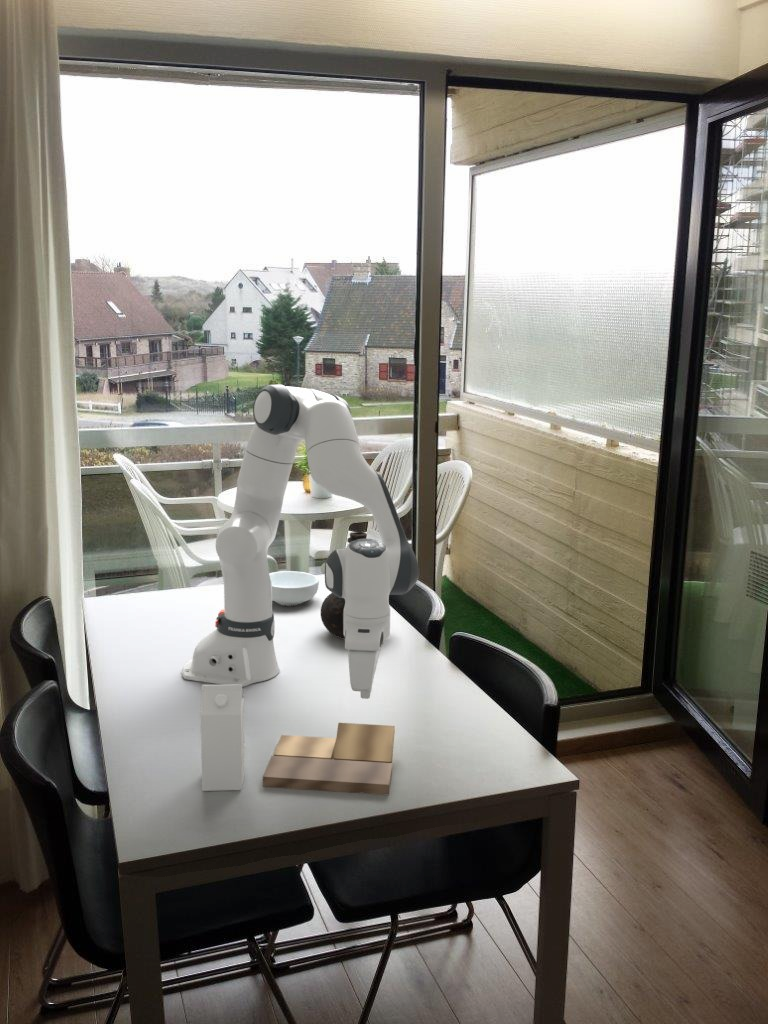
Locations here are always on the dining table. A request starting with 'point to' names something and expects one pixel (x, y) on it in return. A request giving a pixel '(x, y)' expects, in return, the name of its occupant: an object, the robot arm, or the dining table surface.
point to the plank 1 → (306, 747)
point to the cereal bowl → (293, 587)
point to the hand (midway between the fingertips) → (366, 694)
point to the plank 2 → (364, 742)
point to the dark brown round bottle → (337, 603)
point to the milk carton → (222, 737)
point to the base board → (328, 775)
